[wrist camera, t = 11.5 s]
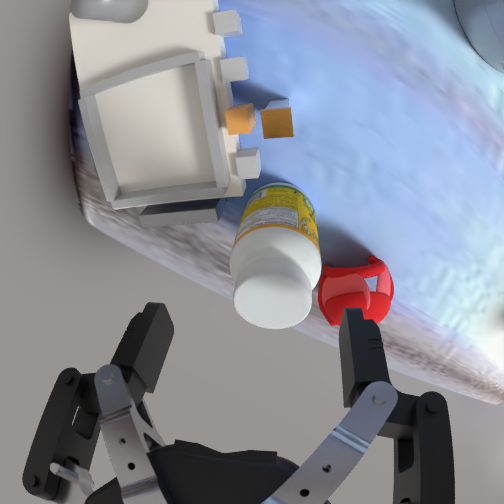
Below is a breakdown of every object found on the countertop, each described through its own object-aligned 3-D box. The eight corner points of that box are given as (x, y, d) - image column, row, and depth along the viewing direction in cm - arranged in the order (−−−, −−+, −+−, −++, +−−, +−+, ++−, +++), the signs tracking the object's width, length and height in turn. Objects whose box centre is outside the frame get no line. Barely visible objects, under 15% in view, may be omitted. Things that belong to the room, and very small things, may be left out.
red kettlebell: (300, 268, 21) (307, 345, 21) (381, 264, 18) (382, 349, 18) (335, 255, 27) (339, 314, 28) (394, 251, 24) (397, 314, 24)
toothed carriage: (82, 14, 12) (23, 13, 7) (231, -38, 10) (205, -77, 5) (123, 200, 21) (82, 242, 16) (263, 185, 19) (253, 232, 15)
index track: (109, -49, 10) (61, -65, 5) (258, -92, 8) (245, -133, 3) (157, 209, 23) (124, 251, 18) (298, 198, 21) (300, 244, 16)
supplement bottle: (244, 178, 21) (214, 257, 13) (318, 182, 20) (334, 265, 13) (246, 240, 24) (223, 332, 16) (311, 244, 23) (316, 339, 16)
